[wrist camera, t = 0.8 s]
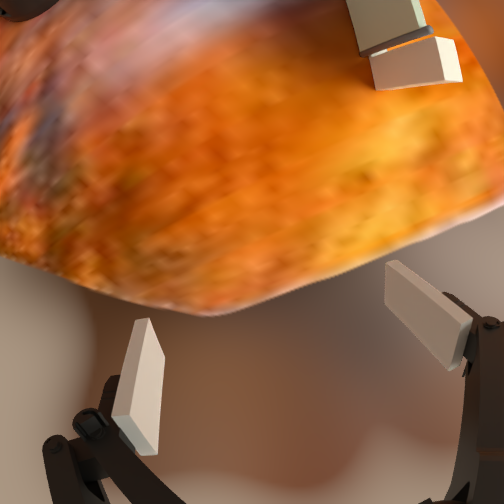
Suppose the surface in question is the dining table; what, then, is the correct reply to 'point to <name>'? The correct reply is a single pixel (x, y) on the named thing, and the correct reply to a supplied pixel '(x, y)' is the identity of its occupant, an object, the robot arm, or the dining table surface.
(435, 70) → the wall frame
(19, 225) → the dining table surface
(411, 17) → the door
